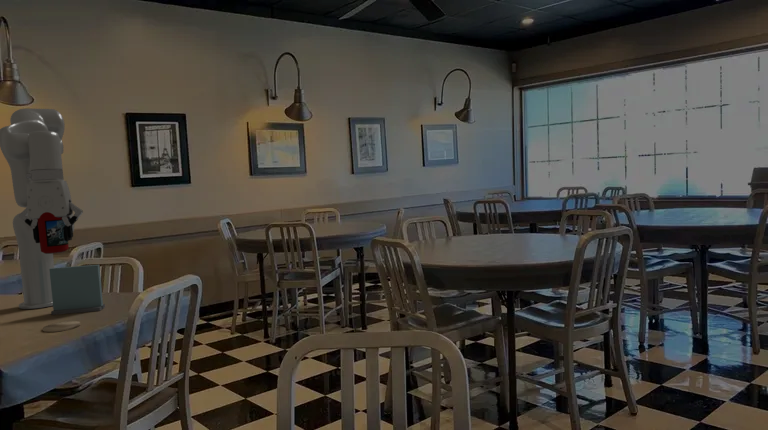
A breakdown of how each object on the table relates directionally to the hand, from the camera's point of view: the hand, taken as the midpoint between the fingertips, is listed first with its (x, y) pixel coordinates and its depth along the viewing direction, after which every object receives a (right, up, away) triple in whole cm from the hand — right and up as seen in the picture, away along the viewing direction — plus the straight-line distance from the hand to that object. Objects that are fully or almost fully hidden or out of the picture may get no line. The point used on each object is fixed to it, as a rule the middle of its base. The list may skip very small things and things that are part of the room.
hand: (54, 240), depth 155 cm
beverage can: (0, -3, 0) cm, 3 cm away
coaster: (+1, -24, +1) cm, 24 cm away
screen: (-5, -23, +21) cm, 32 cm away
